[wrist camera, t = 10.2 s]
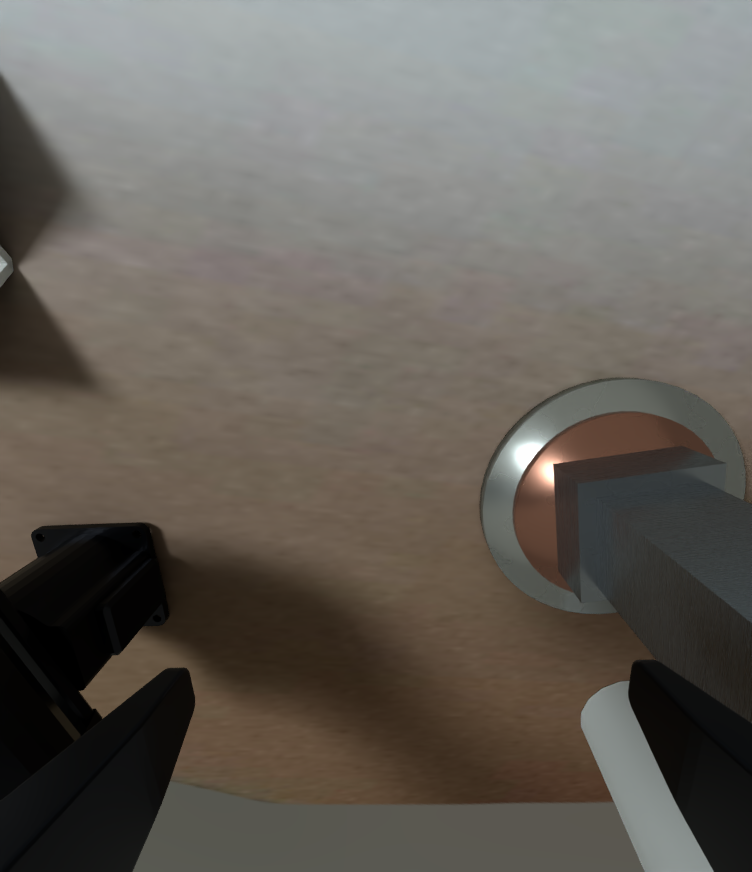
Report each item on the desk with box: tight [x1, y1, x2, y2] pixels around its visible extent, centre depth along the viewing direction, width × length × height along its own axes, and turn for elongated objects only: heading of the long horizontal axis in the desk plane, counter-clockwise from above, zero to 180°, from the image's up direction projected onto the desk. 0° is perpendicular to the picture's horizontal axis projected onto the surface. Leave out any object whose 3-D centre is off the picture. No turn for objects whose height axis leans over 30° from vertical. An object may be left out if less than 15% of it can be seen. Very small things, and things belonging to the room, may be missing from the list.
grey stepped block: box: [553, 446, 752, 723], centre depth 14 cm, size 6×6×12 cm
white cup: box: [581, 681, 714, 872], centre depth 20 cm, size 7×7×10 cm
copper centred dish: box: [480, 378, 746, 614], centre depth 20 cm, size 13×13×1 cm
